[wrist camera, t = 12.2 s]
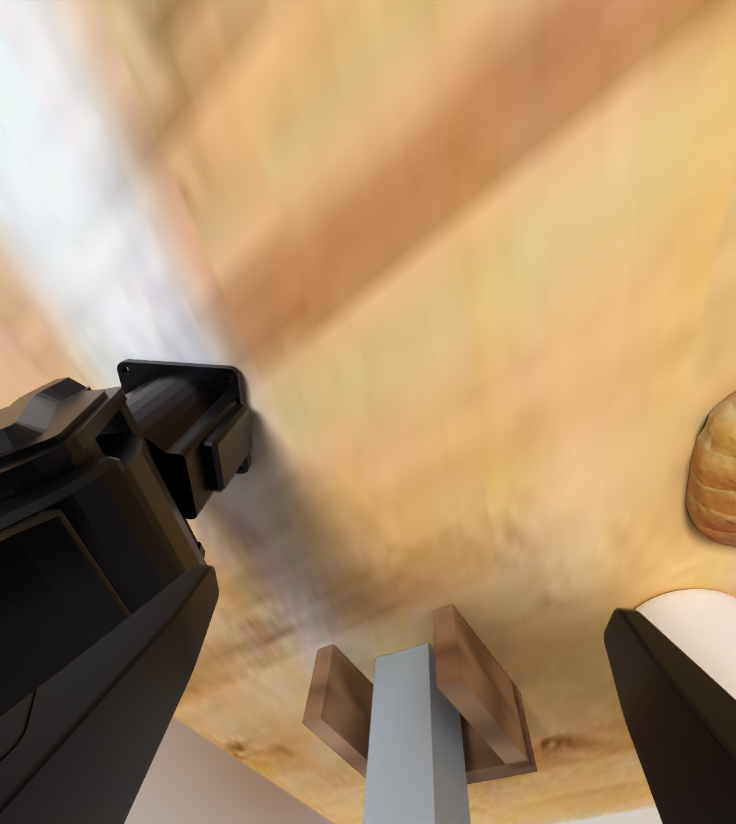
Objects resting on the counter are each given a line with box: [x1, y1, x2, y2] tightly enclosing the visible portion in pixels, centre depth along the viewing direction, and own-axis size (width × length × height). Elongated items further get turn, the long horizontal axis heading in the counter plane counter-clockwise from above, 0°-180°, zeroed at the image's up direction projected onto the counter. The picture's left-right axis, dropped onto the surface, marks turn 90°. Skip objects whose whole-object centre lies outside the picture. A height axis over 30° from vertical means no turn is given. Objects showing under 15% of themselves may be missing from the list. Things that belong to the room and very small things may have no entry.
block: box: [363, 643, 470, 824], centre depth 26 cm, size 4×4×13 cm
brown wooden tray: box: [303, 604, 537, 784], centre depth 29 cm, size 11×12×5 cm
